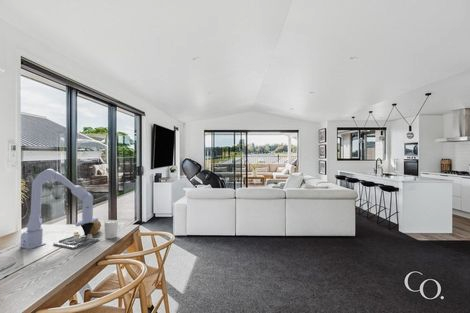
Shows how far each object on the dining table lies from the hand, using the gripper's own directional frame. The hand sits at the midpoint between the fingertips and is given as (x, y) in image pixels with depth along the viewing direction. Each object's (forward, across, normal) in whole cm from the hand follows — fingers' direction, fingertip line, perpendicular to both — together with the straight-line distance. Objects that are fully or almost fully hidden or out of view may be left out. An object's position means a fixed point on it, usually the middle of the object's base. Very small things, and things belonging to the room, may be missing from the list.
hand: (86, 235), depth 168 cm
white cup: (+3, +10, -9) cm, 14 cm away
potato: (+3, +11, +7) cm, 13 cm away
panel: (+3, -7, 0) cm, 7 cm away
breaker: (+1, -7, 0) cm, 7 cm away
